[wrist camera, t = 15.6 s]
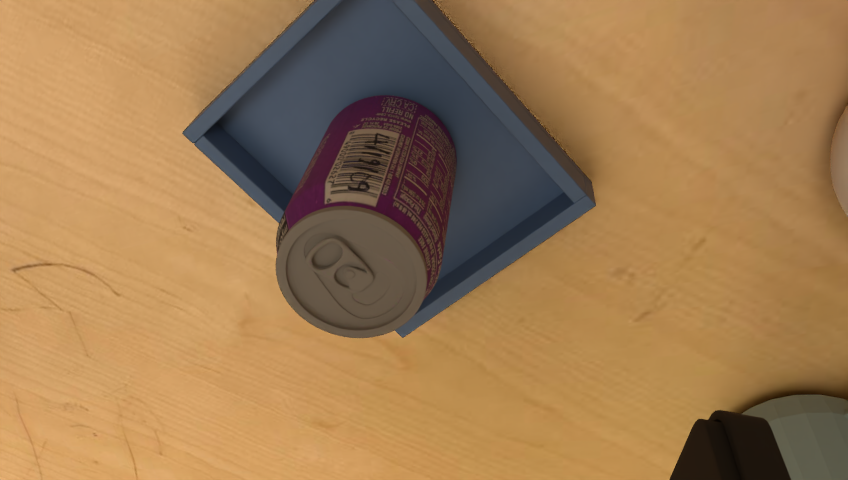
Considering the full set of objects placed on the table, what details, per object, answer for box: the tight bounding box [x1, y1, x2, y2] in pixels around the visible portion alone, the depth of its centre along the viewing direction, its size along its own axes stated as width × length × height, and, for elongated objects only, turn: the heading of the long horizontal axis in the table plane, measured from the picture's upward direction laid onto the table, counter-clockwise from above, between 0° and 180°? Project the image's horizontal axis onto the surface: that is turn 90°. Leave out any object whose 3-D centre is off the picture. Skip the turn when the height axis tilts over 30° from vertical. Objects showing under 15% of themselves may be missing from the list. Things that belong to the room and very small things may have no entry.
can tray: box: [183, 0, 596, 338], centre depth 42 cm, size 17×14×3 cm
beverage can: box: [276, 95, 457, 338], centre depth 37 cm, size 7×7×12 cm
